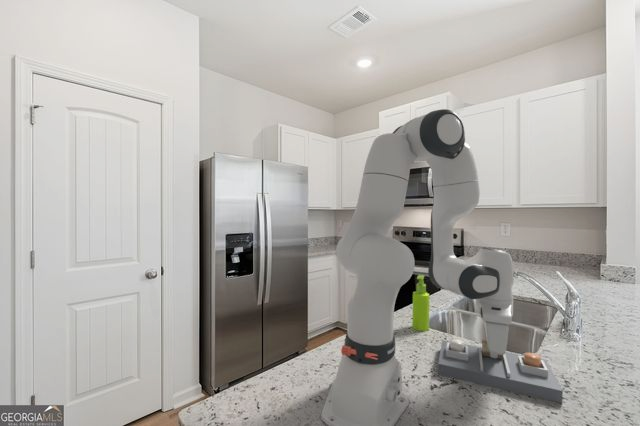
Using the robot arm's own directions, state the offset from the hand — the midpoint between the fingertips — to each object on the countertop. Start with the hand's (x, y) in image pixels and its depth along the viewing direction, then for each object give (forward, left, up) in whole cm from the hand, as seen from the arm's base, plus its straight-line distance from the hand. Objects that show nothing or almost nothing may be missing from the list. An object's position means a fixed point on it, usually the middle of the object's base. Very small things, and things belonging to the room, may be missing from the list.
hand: (493, 355), depth 83 cm
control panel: (-1, 0, -4) cm, 4 cm away
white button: (-1, +9, 0) cm, 9 cm away
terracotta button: (-1, -9, 0) cm, 9 cm away
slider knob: (+3, 0, -1) cm, 4 cm away
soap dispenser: (+21, +22, -5) cm, 31 cm away
